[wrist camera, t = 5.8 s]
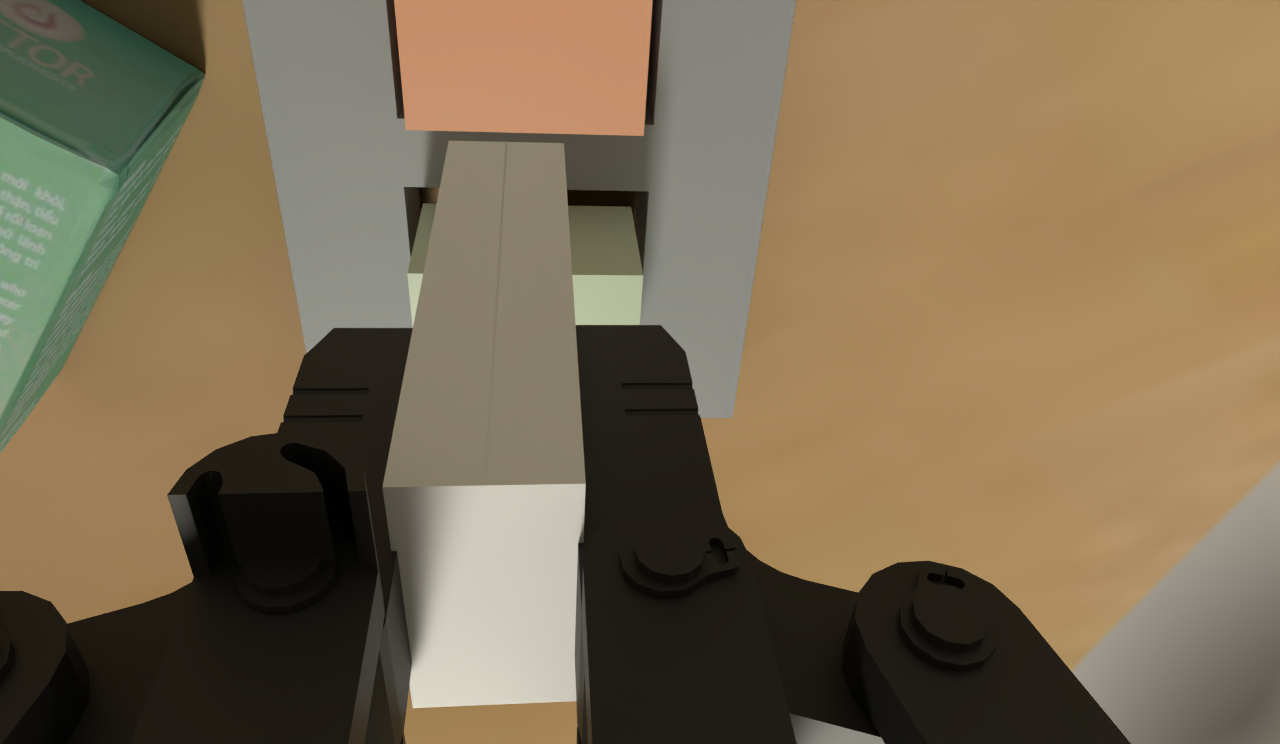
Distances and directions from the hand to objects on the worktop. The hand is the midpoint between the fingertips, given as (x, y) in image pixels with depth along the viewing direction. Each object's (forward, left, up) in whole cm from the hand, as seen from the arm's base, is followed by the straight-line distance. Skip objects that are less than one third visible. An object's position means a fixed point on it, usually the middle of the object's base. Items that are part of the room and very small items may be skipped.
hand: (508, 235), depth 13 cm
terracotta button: (0, 0, -15) cm, 15 cm away
